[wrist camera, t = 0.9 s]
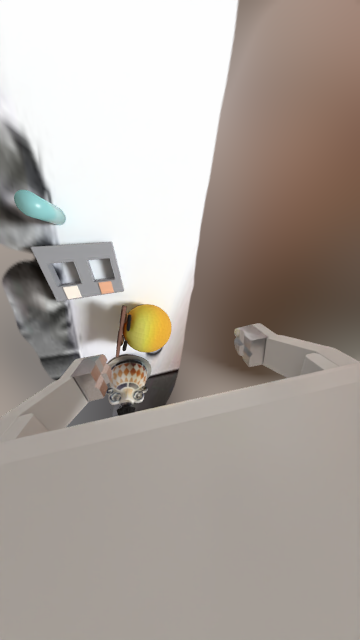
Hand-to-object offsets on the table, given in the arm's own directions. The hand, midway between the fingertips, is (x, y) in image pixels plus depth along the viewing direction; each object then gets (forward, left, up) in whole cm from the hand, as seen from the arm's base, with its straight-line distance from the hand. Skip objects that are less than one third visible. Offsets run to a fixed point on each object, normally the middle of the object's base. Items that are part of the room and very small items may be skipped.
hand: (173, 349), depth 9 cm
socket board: (-10, -7, -42) cm, 44 cm away
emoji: (+11, -14, -42) cm, 46 cm away
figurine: (+16, -38, -42) cm, 59 cm away
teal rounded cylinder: (-19, +2, -42) cm, 46 cm away
